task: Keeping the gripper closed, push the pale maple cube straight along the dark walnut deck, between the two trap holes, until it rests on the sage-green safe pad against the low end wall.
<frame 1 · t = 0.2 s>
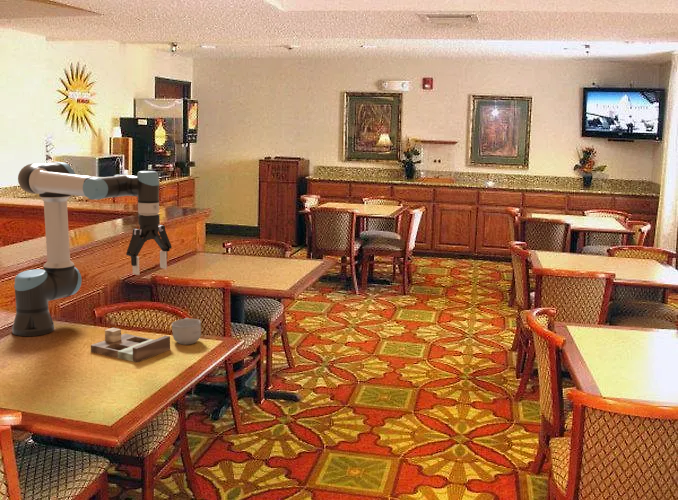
hand: (150, 271, 277), 27 cm above the table, tool pointing down, fingers open, 13 cm apart
block: (113, 340, 276), point 2 cm above the table, touching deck
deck: (130, 350, 273), on the table
teacup: (187, 341, 286), on the table
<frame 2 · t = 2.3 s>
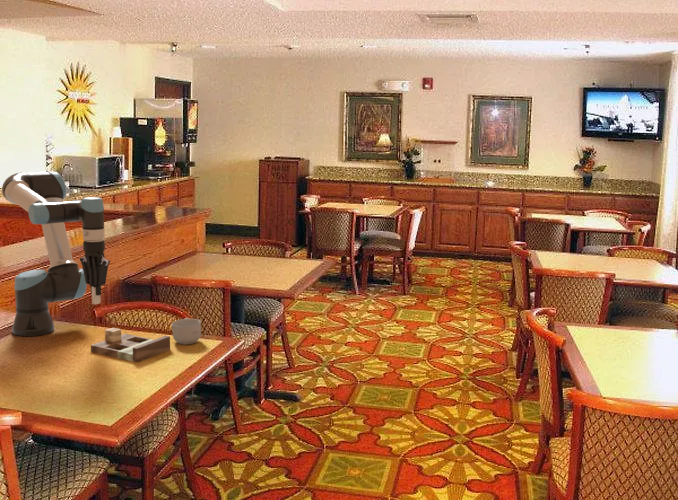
hand: (96, 303, 278), 15 cm above the table, tool pointing down, fingers closed
nothing on the table moved.
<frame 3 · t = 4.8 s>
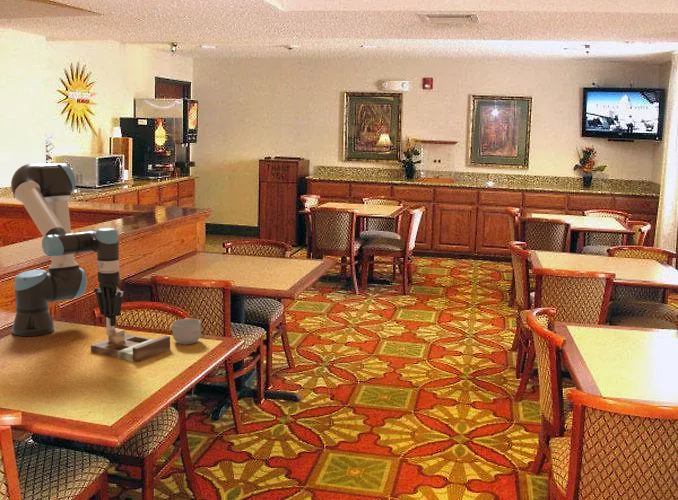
hand: (110, 334, 276), 5 cm above the table, tool pointing down, fingers closed
block: (116, 340, 276), point 3 cm above the table, touching gripper
everything else where it was.
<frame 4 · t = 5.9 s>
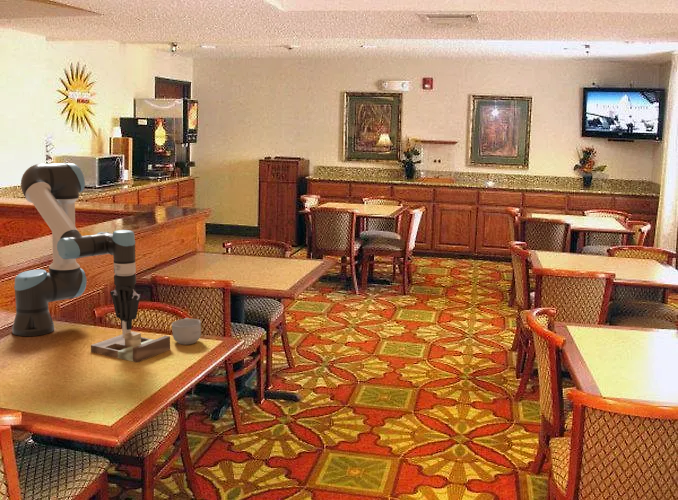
hand: (126, 337, 273), 5 cm above the table, tool pointing down, fingers closed
block: (133, 344, 272), point 3 cm above the table, touching gripper
everything else where it was.
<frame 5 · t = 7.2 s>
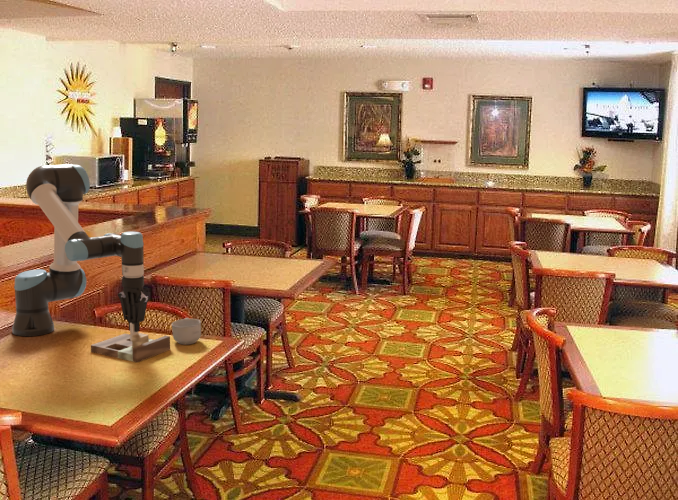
hand: (134, 339, 271), 4 cm above the table, tool pointing down, fingers closed
block: (140, 346, 270), point 2 cm above the table, touching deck, gripper
everything else where it was.
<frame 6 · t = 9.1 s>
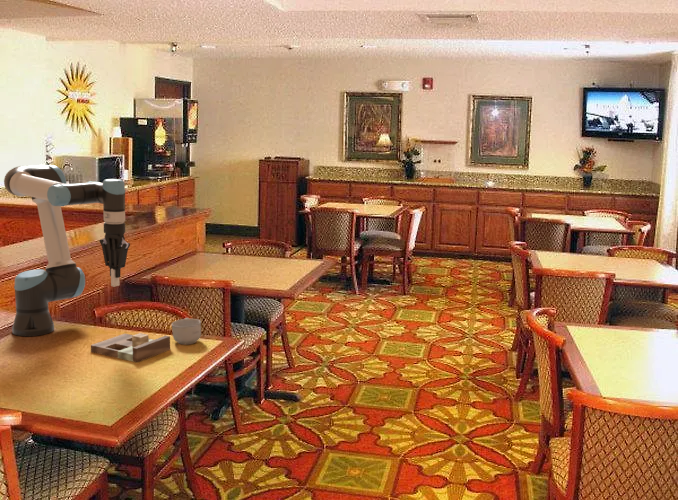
hand: (115, 285, 277), 22 cm above the table, tool pointing down, fingers closed
block: (140, 346, 270), point 2 cm above the table, touching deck
everything else where it was.
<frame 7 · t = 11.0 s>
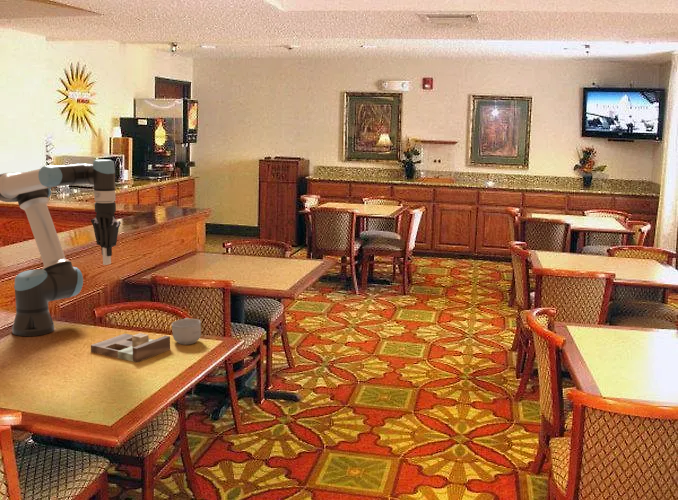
hand: (107, 264, 283), 28 cm above the table, tool pointing down, fingers closed
nothing on the table moved.
at the end: block 1.2 cm from the target spot on the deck, point 2.5 cm above the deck's base; block tilted 0° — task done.
